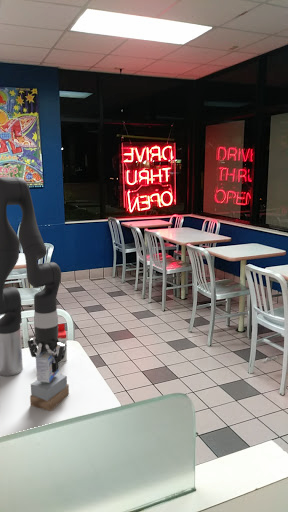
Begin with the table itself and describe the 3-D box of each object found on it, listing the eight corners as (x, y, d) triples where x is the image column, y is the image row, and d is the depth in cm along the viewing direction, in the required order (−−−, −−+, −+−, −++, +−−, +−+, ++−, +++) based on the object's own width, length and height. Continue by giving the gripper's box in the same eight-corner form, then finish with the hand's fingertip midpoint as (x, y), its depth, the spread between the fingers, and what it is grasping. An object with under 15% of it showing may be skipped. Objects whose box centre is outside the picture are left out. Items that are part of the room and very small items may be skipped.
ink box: (45, 363, 160) (44, 329, 157) (45, 357, 165) (44, 325, 161) (67, 360, 162) (66, 327, 159) (66, 355, 167) (65, 323, 164)
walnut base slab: (30, 406, 132) (30, 395, 131) (49, 389, 142) (49, 379, 141) (50, 412, 129) (50, 401, 129) (68, 394, 140) (68, 384, 139)
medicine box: (49, 383, 129) (48, 359, 127) (36, 381, 130) (35, 357, 128) (59, 371, 137) (58, 348, 135) (47, 369, 138) (46, 346, 136)
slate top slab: (31, 394, 132) (30, 384, 131) (51, 381, 141) (50, 370, 140) (47, 401, 129) (46, 390, 128) (66, 386, 137) (66, 375, 136)
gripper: (20, 323, 128) (23, 371, 132) (59, 330, 124) (60, 379, 127) (34, 315, 135) (36, 361, 139) (71, 321, 130) (72, 368, 134)
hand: (48, 369), depth 133 cm, fingers closed on medicine box, 4 cm apart
